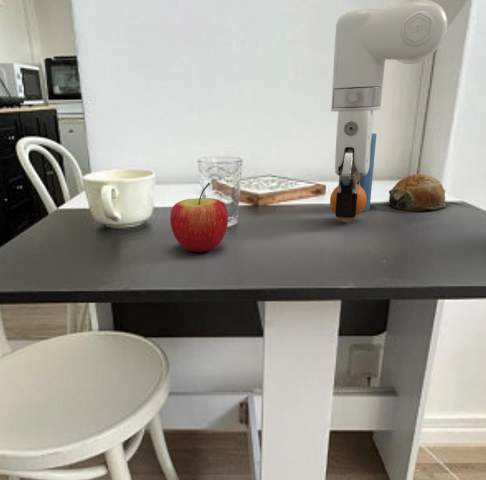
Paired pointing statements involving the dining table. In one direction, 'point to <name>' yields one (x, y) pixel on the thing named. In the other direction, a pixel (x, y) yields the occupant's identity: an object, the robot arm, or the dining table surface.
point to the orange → (360, 200)
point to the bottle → (368, 175)
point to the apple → (199, 223)
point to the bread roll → (418, 193)
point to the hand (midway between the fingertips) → (347, 211)
